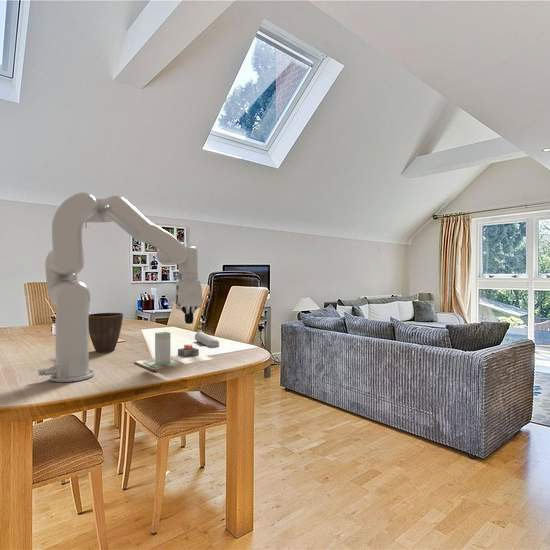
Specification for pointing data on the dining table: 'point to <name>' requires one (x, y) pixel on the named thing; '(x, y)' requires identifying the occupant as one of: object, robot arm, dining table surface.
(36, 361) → the dining table surface
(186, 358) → the board
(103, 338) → the plant pot
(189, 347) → the button
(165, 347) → the grey upright block
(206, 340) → the tube
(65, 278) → the robot arm
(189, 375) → the dining table surface
